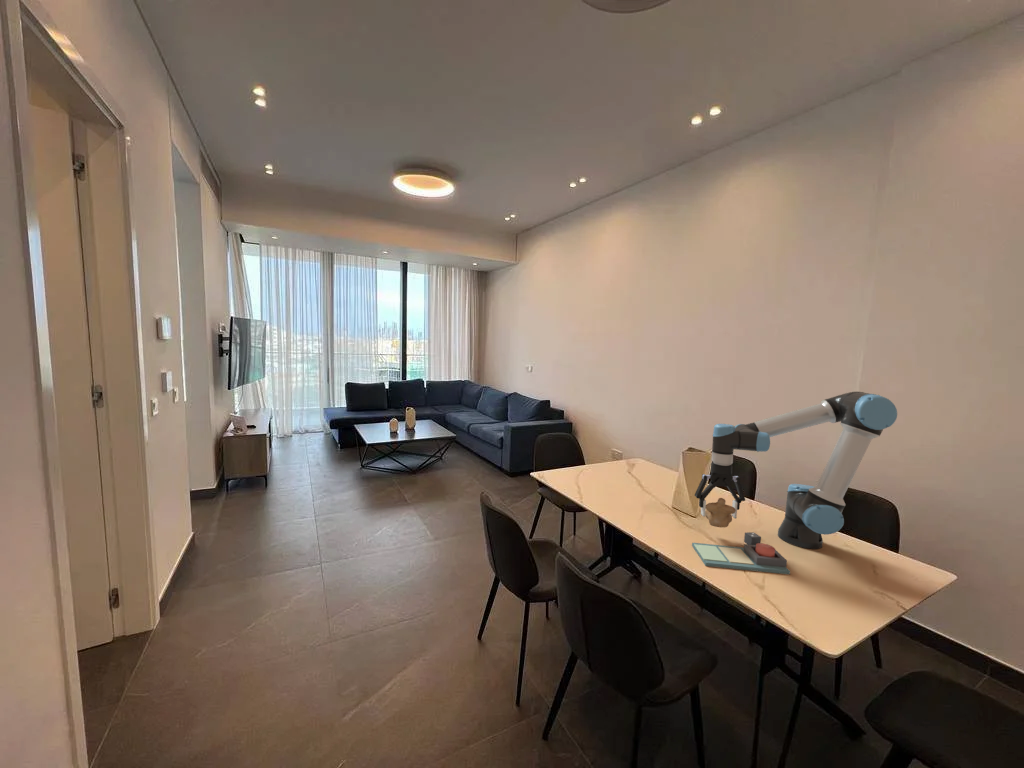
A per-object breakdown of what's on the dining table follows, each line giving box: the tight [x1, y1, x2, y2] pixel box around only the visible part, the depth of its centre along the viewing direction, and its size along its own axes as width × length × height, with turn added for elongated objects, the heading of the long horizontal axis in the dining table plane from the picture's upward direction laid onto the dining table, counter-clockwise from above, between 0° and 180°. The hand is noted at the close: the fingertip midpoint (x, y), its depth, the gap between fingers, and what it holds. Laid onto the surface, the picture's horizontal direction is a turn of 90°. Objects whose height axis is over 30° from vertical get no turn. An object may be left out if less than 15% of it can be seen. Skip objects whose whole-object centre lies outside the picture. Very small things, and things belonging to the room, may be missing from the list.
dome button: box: [755, 542, 776, 557], centre depth 150 cm, size 6×6×4 cm
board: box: [691, 542, 791, 575], centre depth 151 cm, size 28×15×4 cm, turn 83°
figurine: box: [705, 497, 736, 529], centre depth 164 cm, size 11×9×15 cm
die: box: [743, 531, 762, 545], centre depth 163 cm, size 4×4×4 cm
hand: (718, 516), depth 165 cm, fingers closed on figurine, 11 cm apart
